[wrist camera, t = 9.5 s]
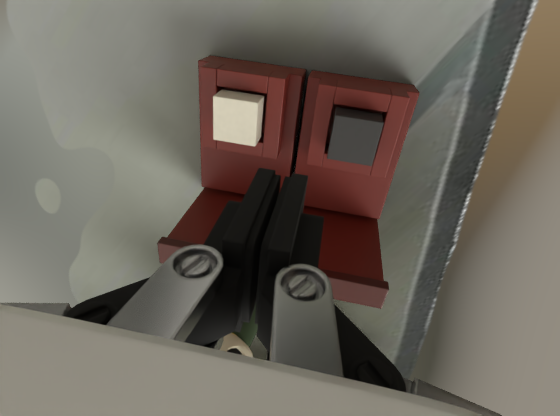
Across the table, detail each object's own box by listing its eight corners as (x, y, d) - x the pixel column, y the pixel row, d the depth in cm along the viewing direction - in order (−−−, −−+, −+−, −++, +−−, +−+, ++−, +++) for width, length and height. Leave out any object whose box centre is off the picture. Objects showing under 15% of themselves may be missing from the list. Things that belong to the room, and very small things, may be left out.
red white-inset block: (209, 54, 28) (187, 64, 24) (306, 68, 27) (299, 81, 23) (210, 174, 34) (193, 197, 30) (290, 189, 33) (282, 214, 29)
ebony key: (336, 106, 24) (335, 115, 23) (382, 113, 24) (384, 122, 22) (328, 148, 26) (326, 159, 24) (370, 155, 26) (371, 166, 24)
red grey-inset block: (311, 69, 27) (305, 81, 23) (414, 84, 26) (425, 99, 22) (294, 189, 33) (286, 215, 29) (377, 204, 32) (380, 232, 29)
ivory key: (221, 88, 25) (212, 95, 23) (264, 95, 25) (258, 102, 23) (221, 130, 27) (212, 139, 25) (261, 137, 26) (255, 147, 25)
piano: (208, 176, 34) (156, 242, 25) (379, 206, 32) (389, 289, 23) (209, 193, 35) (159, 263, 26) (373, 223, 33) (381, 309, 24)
